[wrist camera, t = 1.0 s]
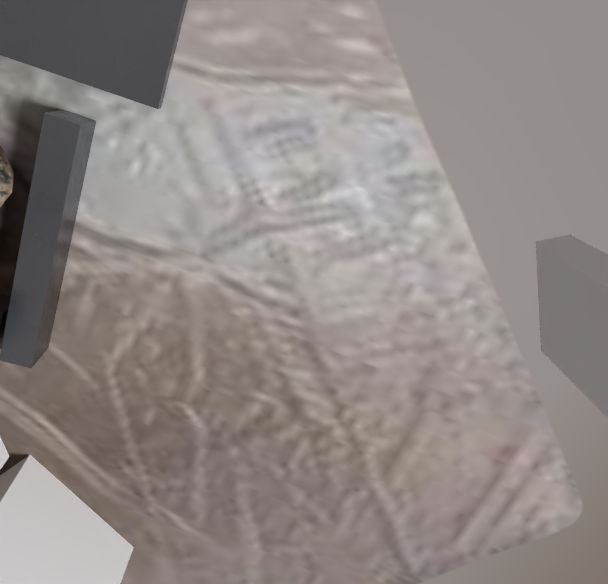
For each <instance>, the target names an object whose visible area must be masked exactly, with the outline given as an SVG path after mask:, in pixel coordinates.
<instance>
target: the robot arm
mask: <svg viewBox="0 0 608 584" xmlns="http://www.w3.org/2000/svg"><path fill="white" fill-rule="evenodd" d="M536 255H537V276H538V297H539V316H540V337H541V351H542V352H543V353H544V354H545V355H546V356H547V357H548V358H549V359H550V360H551V361H552V362H553V363H554V364H555V365H556V366H557V367H558V368H559V369H560V370H561V371H562V372H563V373H564V374H565V375H566V376H567V377H568V378H569V379H570V380H571V381H572V382H573V383H574V384H575V385H576V386H577V387H578V388H579V389H580V390H581V391H582V392H583V393H584V394H585V395H586V396H587V397H588V398H589V399H590V400H591V401H592V402H593V403H594V404H595V405H596V406H597V407H598V408H599V409H600V410H601V411H602V412H603V413H604V414H605V415H606V416H607V417H608V254H606V253H604V252H602V251H600V250H598V249H596V248H594V247H593V246H590V245H588V244H587V243H585V242H583V241H581V240H579V239H577V238H575V237H573V236H572V235H566V236H561V237H556V238H552V239H546V240H542V241H536ZM8 458H9V455H8V452H7V450H6V448H5V446H4V444H3V442H2V440H1V437H0V469H1V468H2V467H3V465H4V464H5V462H6V461H7V459H8Z"/></svg>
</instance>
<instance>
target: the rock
mask: <svg viewBox="0 0 608 584" xmlns="http://www.w3.org/2000/svg"><path fill="white" fill-rule="evenodd" d="M13 178H14V174H13V170H12V167H11V165H10V163H9V160H8V158H7V155H6V154H5V152H4V150H3V149H2V148H1V146H0V207H1V206H2V205H3V203H4V202H5V200H6V199H7V198H8V197H9V196H10V195H11V193H12V187H13Z"/></svg>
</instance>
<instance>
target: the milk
mask: <svg viewBox="0 0 608 584" xmlns="http://www.w3.org/2000/svg"><path fill="white" fill-rule="evenodd" d="M133 548H134V547H133V546H132V545H131V544H129V543H128V542H127V541H126V540H125V539H124V538H123V537H122V536H120V535H119V534H118V533H117V532H116V531H115V530H114V529H113V528H112V527H110V526H109V525H108V524H107V523H106V522H105V521H104V520H103V519H101V518H100V517H99V516H98V515H97V514H96V513H95V512H94V511H93V510H91V509H90V508H89V507H88V506H87V505H86V504H85V503H84V502H82V501H81V500H80V499H79V498H78V497H77V496H76V495H75V494H74V493H72V492H71V491H70V490H69V489H68V488H67V487H66V486H65V485H63V484H62V483H61V482H60V481H59V480H58V479H57V478H56V477H54V476H53V475H52V474H51V473H50V472H49V471H48V470H47V469H46V468H44V467H43V466H42V465H41V464H40V463H39V462H38V461H37V460H35V459H34V458H33V457H32V456H31V455H28V456H27V457H26V458H24V459H23V460H21V461H20V462H18V463H17V464H16V465H14V466H13V467H11V468H10V469H9V470H7V471H6V472H4V473H3V474H1V475H0V584H120V583H121V580H122V578H123V575H124V572H125V569H126V567H127V564H128V561H129V559H130V556H131V553H132V551H133Z"/></svg>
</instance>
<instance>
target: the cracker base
mask: <svg viewBox="0 0 608 584" xmlns="http://www.w3.org/2000/svg"><path fill="white" fill-rule="evenodd" d="M186 4H187V0H0V55H3V56H6V57H9V58H11V59H14V60H17V61H20V62H23V63H26V64H29V65H32V66H35V67H38V68H41V69H43V70H46V71H49V72H52V73H55V74H58V75H61V76H64V77H67V78H70V79H72V80H75V81H78V82H81V83H84V84H87V85H90V86H93V87H96V88H99V89H102V90H104V91H107V92H110V93H113V94H116V95H119V96H122V97H125V98H128V99H131V100H134V101H136V102H139V103H142V104H145V105H148V106H151V107H154V108H157V109H159V108H161V106H162V102H163V98H164V94H165V89H166V85H167V81H168V77H169V73H170V69H171V65H172V61H173V57H174V53H175V49H176V45H177V41H178V37H179V33H180V29H181V24H182V20H183V16H184V12H185V8H186ZM95 124H96V121H94V120H91V119H88V118H85V117H82V116H79V115H76V114H73V113H70V112H67V111H64V110H60V111H53V112H46V113H44V115H43V121H42V126H41V132H40V137H39V143H38V148H37V154H36V160H35V165H34V171H33V176H32V182H31V187H30V193H29V198H28V204H27V209H26V215H25V220H24V226H23V232H22V237H21V243H20V248H19V254H18V259H17V265H16V270H15V276H14V281H13V287H12V292H11V297H8V296H5V295H1V294H0V349H1V353H0V360H1V361H5V362H9V363H13V364H16V365H20V366H24V367H28V368H32V367H33V366H34V364H35V363H36V362H37V361H38V359H39V358H40V357H41V356H42V355H43V353H44V352H45V351H46V350H47V349H48V346H49V342H50V337H51V332H52V327H53V323H54V318H55V313H56V309H57V304H58V299H59V294H60V290H61V285H62V280H63V275H64V271H65V266H66V261H67V256H68V252H69V247H70V242H71V237H72V233H73V228H74V223H75V219H76V214H77V209H78V204H79V200H80V195H81V190H82V185H83V181H84V176H85V171H86V166H87V162H88V157H89V152H90V147H91V143H92V138H93V133H94V129H95Z"/></svg>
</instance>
